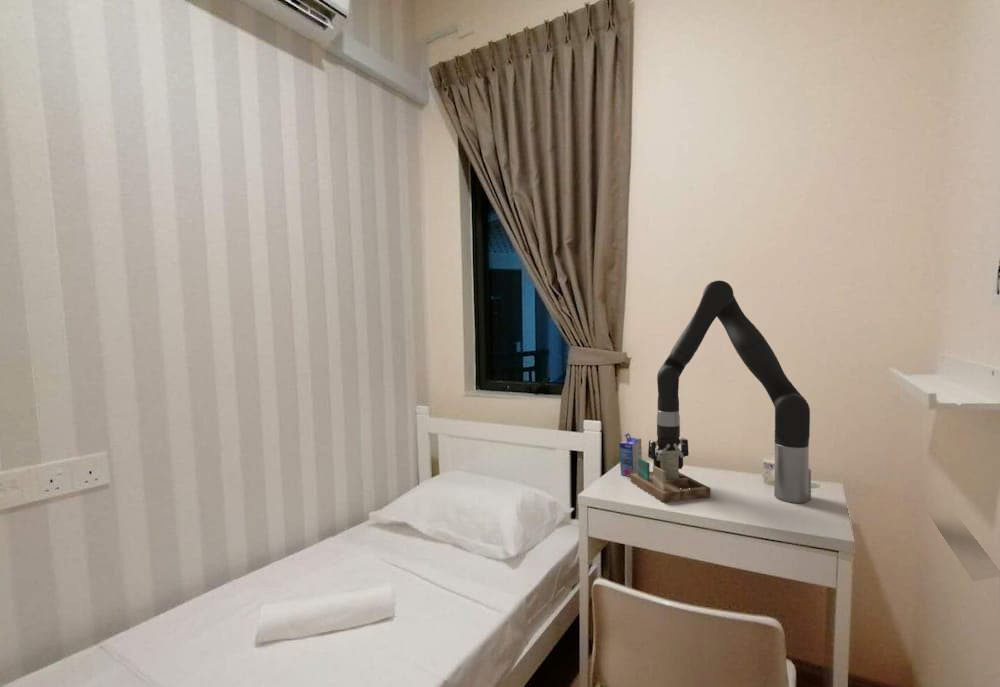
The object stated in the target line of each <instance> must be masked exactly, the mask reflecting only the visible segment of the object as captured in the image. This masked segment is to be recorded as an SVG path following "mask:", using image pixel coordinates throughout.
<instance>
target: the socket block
mask: <svg viewBox="0 0 1000 687" xmlns="http://www.w3.org/2000/svg"><path fill="white" fill-rule="evenodd" d="M631 482H632V484H633V485H634V484H635V485H634V486H636V485H637V486H636V487H638V488H639V487H640V489H641V490H642V489H643V490H642V491H644V492H645V491H646V493H647V492H648V493H647V494H648V495H650V494H651V495H650V496H652V497H653V496H654V497H653V498H655V497H656V498H657V500H658V499H659V500H660V502H661V501H662V502H661V503H663V502H666V503H672V502H671V501H675V502H682V501H681V500H683V501H689V500H690V499H691V500H698V498H700V499H707V498H706V497H708V498H711V487H709V486H707V485H705V484H703V483H702V482H699V481H697V480H695V479H693V478H692V477H689V476H687V475H685V474H684V473H682V472H680V471H679V479H671V480H665V471H664V470H662V469H660V468H658V467H656V466H654V465H653V466H652V471H650V462H648V461H647V460H644V459H643V458H642V459H641V458H638V473H633V474H631V476H630V483H631ZM680 488H684V489H680ZM689 488H690V489H689ZM656 498H655V499H656ZM659 500H658V501H659Z"/></svg>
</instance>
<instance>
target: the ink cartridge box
mask: <svg viewBox="0 0 1000 687" xmlns="http://www.w3.org/2000/svg"><path fill="white" fill-rule="evenodd" d="M624 437H625V438H626V439H624V440H622V441H621V442H620V443H619V458H620V459H619V461H620V462H619V463H620V466H619V467H620V475H621V476H625V475H626V476H625V477H631V474H633V473H638V458H641V459H643V455H642V453H643V452H642V447H643V446H642V438H638V437H631V434H630V433H626V434H625V435H624Z"/></svg>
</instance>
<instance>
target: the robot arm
mask: <svg viewBox="0 0 1000 687" xmlns="http://www.w3.org/2000/svg"><path fill="white" fill-rule="evenodd" d="M716 319H717V320H719V321H720V323H721V324H722V326H723V327H724V329H725V331H726V334H727V336H728V338H729V340H730V343H731V344H732V346H733V348H734V349H735V351H736V353H737V354H738V356H739V358H740V359H741V361H742V363H743V364H744V365H745V366H746V368H747V369H748V370H749V371H750V373H751V374H753V376H754V377H755V378H756V379H757V380H758V381H759V382H760V383H761V385H762V386H763V388H764V389H765V391H766V392H767V395H768V397H769V398H770V400H771V402H772V404H773V407H774V477H773V479H774V492H773V493H774V497H775V498H776V499H779V500H780V501H784V502H787V503H794V504H795V503H796V504H799V503H800V504H803V503H806V502H807V503H808V501H809V500H812V495H811V494H812V470H811V468H809V466H810V465H809V463H810V462H809V460H810V459H809V458H810V456H809V455H810V454H809V449H810V444H809V443H810V436H811V435H810V429H811V428H810V427H811V426H810V425H811V410H810V405H809V403H808V401H807V400H806V398H805V397H804V396H803V395H802V394H801V393H800V392H799V390H798V389H797V388H796V387H795V386H794V385H793V383H792V382H791V381H790V380H789V378H788V377H787V375H786V373H785V372H784V370H783V368H782V366H781V364H780V362H779V360H778V357H777V355H776V354H775V351H773V349H772V347H771V345H770V344H769V343H768V341H767V339H766V338H765V337H764V335H763V334H762V333H761V332H760V330H759V329H758V328H757V327H756V325H755V324H754V323H752V321H750V319H749V318H748V317H747V316H746V315H745V313H744V312H743V310H742V308H741V307H740V305H739V303H738V301H737V299H736V297H735V295H734V290H733V288H732V286H731V284H730V283H728V282H727V281H724V280H714V281H711V282H710V283H708V284H707V285H706V286H705V288H703V291H702V296H701V298H700V301H699V304H698V306H697V307H696V310H695V311H694V314H693V316H692V318H690V321H689V322H688V324H687V325H686V326H685V328H684V330H683V332H681V334H680V336H679V337H678V339H677V340H676V342H675V344H674V345H673V347H672V348H671V351H670V353H669V355H668V356H667V358H666V359H665V361H664V362H663V364H662V365H661V367H660V368H659V370H658V371H657V375H656V376H657V378H656V381H657V383H656V384H657V414H656V437H657V439H656V441H654V440H649V441H648V450H647V453H648V454H647V456H648V458H650V459H651V460H652V461H653V466H656V467H658V468H660V461H659V460H660V458H661V455H662V456H663V455H664V454H665V452H666V451H671V450H677V451H678V462H679V470H682V469H683V467H684V458H685V457H689V454H690V453H689V439H687V438H684V437H681V416H680V400H679V389H680V388H679V384H680V383H679V382H680V376H681V375H682V373H683V372H684V369H685V368H686V366H687V365H688V364H689V363H690V362H691V360H692V359H693V357H694V355H695V354H696V352H697V350H698V349H699V347H700V346H701V344H702V342H703V340H704V338H705V337H706V334H707V332H708V330H709V329H710V327H711V326H712V324H713V322H714V321H715V320H716ZM680 437H681V438H680ZM657 446H658V447H657ZM679 447H680V448H679ZM659 450H662V451H661V452H660V451H659Z"/></svg>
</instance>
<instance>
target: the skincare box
mask: <svg viewBox="0 0 1000 687" xmlns="http://www.w3.org/2000/svg"><path fill="white" fill-rule="evenodd" d="M659 451H660V452H661V451H662V450H659ZM659 461H660V469H662V470H664V471H665V480H671V479H679V472H680V471H679V470H680V469H679V462H678V451H677V450H671V451H666V452H665V454H664V455H663V456H662V455H661V458H660V460H659Z"/></svg>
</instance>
